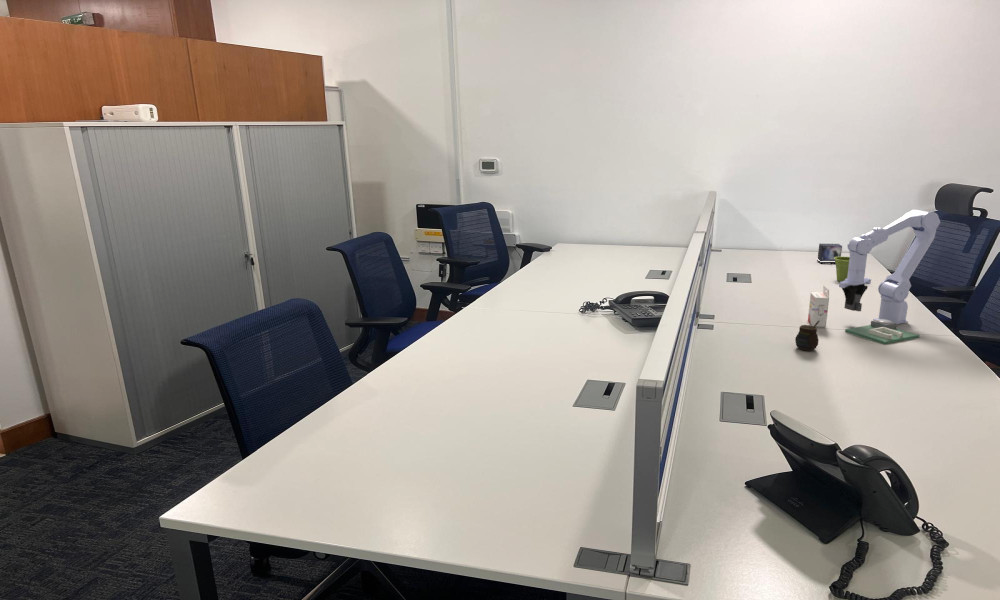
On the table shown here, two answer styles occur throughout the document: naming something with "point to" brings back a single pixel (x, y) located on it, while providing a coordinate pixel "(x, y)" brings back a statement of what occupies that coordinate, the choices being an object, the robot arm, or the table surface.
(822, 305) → the ink cartridge box
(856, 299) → the plug
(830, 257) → the small box
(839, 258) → the plant pot
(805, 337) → the mate gourd
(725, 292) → the table surface
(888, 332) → the board
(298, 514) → the table surface
